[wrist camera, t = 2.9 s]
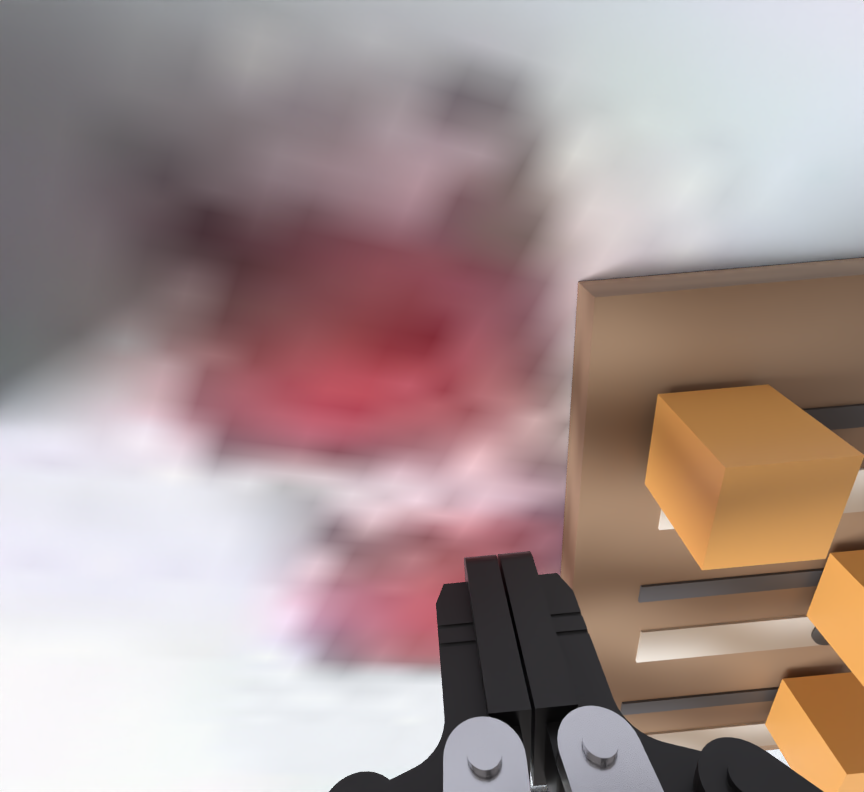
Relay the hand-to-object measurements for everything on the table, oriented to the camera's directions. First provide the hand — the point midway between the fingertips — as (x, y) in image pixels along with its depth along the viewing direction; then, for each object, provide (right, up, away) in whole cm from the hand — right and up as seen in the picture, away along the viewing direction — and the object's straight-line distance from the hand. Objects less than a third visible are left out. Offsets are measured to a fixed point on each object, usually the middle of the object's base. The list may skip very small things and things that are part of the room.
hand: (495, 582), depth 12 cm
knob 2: (+15, -9, +11) cm, 20 cm away
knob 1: (+7, +3, +4) cm, 8 cm away
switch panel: (+12, -2, +9) cm, 15 cm away
